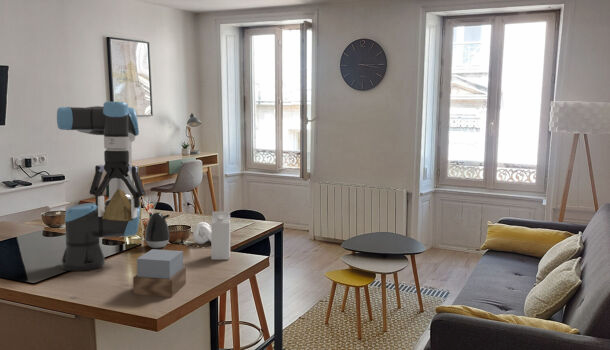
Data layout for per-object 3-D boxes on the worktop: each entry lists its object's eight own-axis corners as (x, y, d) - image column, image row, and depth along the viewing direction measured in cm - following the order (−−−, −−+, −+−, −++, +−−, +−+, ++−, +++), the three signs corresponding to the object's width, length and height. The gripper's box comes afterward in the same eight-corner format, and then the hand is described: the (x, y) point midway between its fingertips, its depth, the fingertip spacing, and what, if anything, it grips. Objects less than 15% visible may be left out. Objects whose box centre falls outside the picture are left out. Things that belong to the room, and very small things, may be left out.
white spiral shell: (189, 245, 232) (189, 225, 231) (196, 239, 244) (196, 220, 243) (214, 246, 232) (215, 226, 231) (220, 239, 244) (220, 220, 243)
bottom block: (133, 295, 171) (133, 277, 170) (149, 282, 183) (149, 265, 183) (172, 297, 169) (172, 279, 168) (185, 284, 182) (185, 267, 181)
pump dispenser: (166, 250, 224) (166, 215, 222) (142, 249, 224) (141, 214, 222) (172, 244, 234) (172, 210, 232) (149, 243, 234) (148, 209, 232)
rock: (142, 213, 172) (135, 205, 180) (126, 194, 167) (119, 186, 176) (115, 235, 169) (108, 225, 177) (97, 216, 164) (92, 207, 173)
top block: (137, 276, 170) (136, 258, 170) (152, 266, 182) (152, 249, 181) (169, 279, 169) (169, 260, 168) (183, 268, 181) (183, 251, 180)
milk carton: (212, 255, 218) (212, 210, 216) (230, 255, 219) (230, 210, 216) (211, 259, 211) (211, 213, 209) (229, 259, 212) (229, 213, 209)
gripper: (76, 149, 168) (78, 217, 171) (145, 151, 165) (146, 220, 168) (89, 148, 176) (91, 213, 178) (155, 150, 173) (156, 216, 175)
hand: (117, 216), depth 173 cm, fingers closed on rock, 11 cm apart
